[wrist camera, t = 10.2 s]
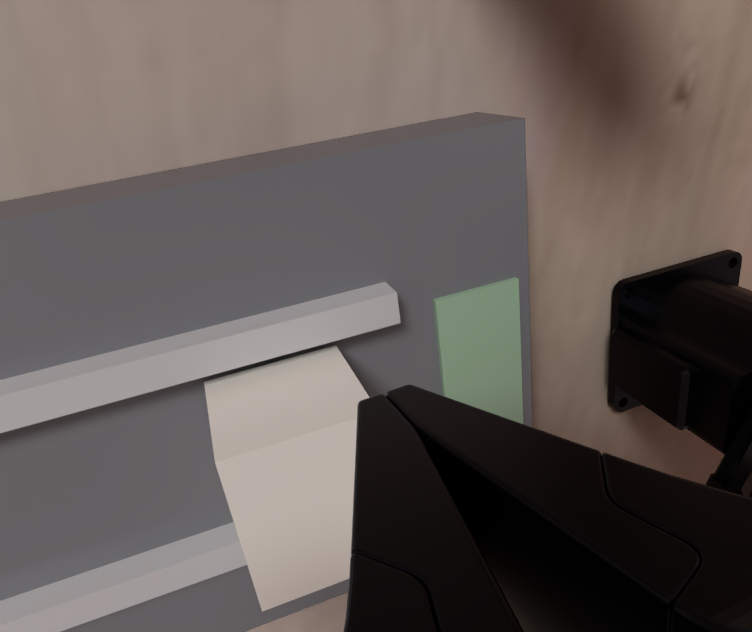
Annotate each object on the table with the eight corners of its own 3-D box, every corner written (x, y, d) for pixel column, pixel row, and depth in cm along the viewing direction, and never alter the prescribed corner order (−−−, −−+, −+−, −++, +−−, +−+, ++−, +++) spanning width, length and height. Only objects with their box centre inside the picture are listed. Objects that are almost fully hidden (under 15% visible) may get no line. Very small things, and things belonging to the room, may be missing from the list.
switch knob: (335, 345, 18) (378, 411, 14) (359, 473, 20) (401, 558, 16) (203, 381, 17) (215, 462, 13) (243, 512, 19) (262, 611, 15)
